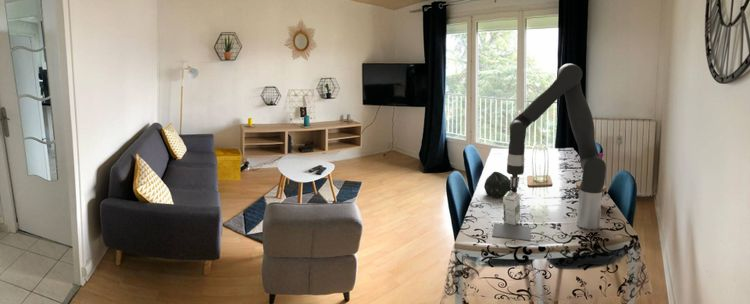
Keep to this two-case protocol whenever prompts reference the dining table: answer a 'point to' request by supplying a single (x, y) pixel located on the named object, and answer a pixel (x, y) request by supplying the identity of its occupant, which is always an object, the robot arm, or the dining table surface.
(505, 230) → the mat
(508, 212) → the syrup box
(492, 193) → the squash
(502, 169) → the dining table surface
